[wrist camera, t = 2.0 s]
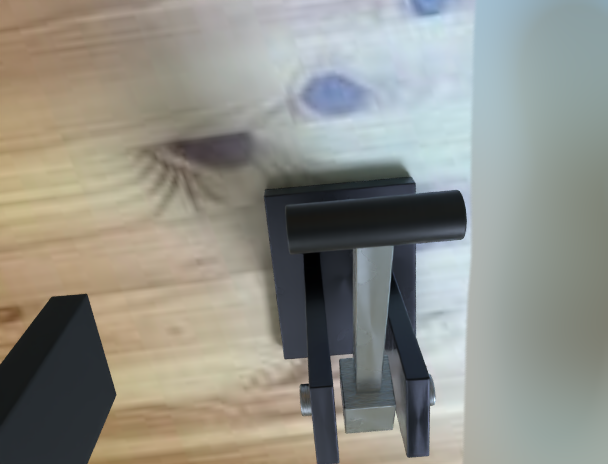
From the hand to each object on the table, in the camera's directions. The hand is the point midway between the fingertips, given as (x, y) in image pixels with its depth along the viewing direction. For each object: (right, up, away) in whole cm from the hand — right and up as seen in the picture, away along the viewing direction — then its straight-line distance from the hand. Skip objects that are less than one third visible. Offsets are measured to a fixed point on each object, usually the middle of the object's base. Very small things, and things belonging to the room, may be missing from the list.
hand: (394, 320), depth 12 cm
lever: (0, -1, +10) cm, 10 cm away
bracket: (+1, 0, +24) cm, 24 cm away
